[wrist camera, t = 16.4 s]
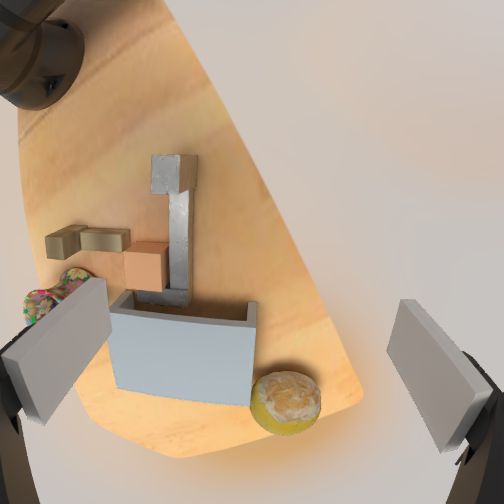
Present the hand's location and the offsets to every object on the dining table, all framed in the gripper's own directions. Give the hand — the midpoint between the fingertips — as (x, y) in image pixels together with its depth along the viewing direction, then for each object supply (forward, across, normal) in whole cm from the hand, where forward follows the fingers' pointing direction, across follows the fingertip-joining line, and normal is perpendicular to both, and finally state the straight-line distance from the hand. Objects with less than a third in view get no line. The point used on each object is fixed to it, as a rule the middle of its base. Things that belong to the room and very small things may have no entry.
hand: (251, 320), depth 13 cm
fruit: (+29, +6, -27) cm, 40 cm away
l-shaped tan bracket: (+29, -22, -5) cm, 37 cm away
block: (+29, -14, -8) cm, 33 cm away
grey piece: (+29, -12, -3) cm, 31 cm away
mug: (+29, -25, -14) cm, 41 cm away
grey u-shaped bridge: (+29, -9, -19) cm, 36 cm away
